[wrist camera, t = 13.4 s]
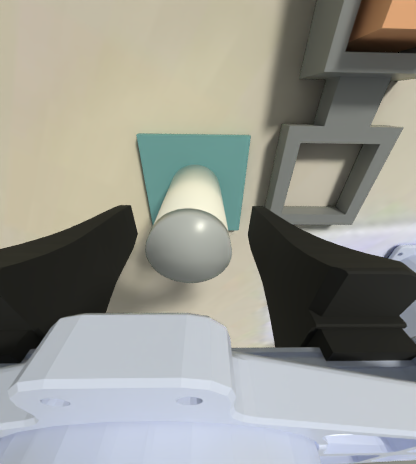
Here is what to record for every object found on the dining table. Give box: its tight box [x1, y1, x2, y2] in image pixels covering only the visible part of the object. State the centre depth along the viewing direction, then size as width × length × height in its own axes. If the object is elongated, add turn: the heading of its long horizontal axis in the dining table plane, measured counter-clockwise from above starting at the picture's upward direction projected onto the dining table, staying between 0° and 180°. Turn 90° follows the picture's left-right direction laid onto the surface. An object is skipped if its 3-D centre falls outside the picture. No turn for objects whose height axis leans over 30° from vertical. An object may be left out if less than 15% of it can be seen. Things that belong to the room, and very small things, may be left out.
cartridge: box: [145, 165, 232, 283], centre depth 12 cm, size 4×4×8 cm
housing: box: [265, 0, 416, 225], centre depth 12 cm, size 16×8×3 cm, turn 179°
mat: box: [137, 134, 251, 230], centre depth 16 cm, size 8×8×1 cm
